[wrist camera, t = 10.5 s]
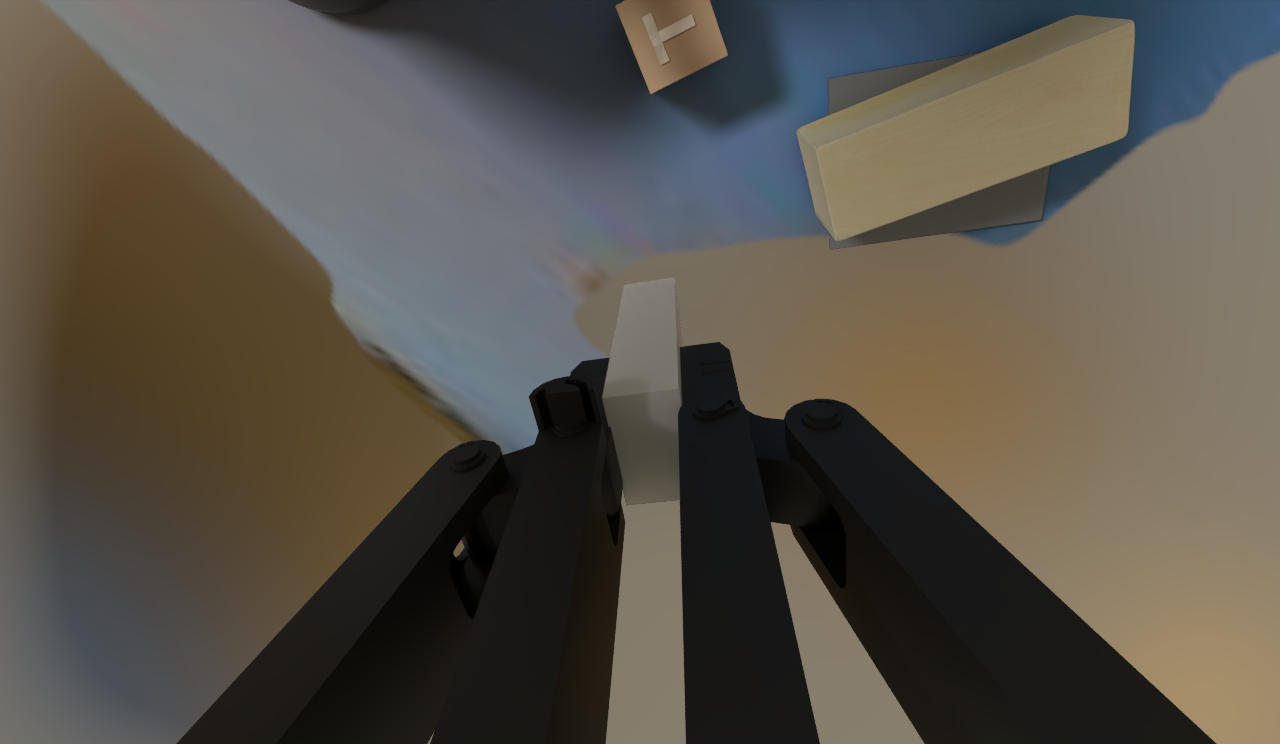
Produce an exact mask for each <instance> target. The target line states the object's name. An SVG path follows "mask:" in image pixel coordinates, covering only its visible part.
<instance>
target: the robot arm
mask: <svg viewBox="0 0 1280 744" xmlns="http://www.w3.org/2000/svg"><path fill="white" fill-rule="evenodd" d="M289 1H291V2H293V3H295V4H298V5H300V6H303V7H306V8H309V9H313V10H318V11H323V12H329V13H335V14H356V13H362V12H365V11H369V10H371V9H374V8H376V7H378V6H380V5H382V4H383V3H385V2H386V1H388V0H289ZM529 399H530V402H531V406H532V409H533V412H534V416H535V419H536V423H537V426H538V429H539V433H538V435H537V438H536V441H535V444H534V445H532V446H529V447H527V448H524V449H521V450H518V451H515V452H512V453H508V454H505V455H502V452H501V449H500V446H498V445H497V444H496V443H495V442H492V441H487V440H480V441H470V442H467V443H463V444H460V445H459V446H457V447H455V448H453V449H451V450H449V451H448V452H447V453H445V454H444V455H443V456H442V457H441V458H440V459H438V461H437V462H436V463H435V464H434V465H433V466H432V467H431V468H430V469H429V470H428V472H427V473H426V474H425V475H424V476H423V477H422V478H421V479H420V480H419V481H418V482H417V483H416V484H415V486H414V487H413V488H412V489H411V490H410V491H409V492H408V493H407V494H406V495H405V496H404V497H403V498H402V500H401V501H400V502H399V503H398V504H397V505H396V506H395V507H394V508H393V509H392V511H390V513H389V514H388V515H387V516H386V517H385V518H384V519H383V520H382V521H381V522H380V524H379V525H378V526H377V527H376V528H375V529H374V530H373V531H372V532H371V533H370V534H369V535H368V536H367V538H366V539H365V540H364V541H363V542H362V543H361V544H360V545H359V546H358V547H357V548H356V549H355V551H354V552H353V553H352V554H351V555H350V556H349V557H348V558H347V559H346V560H345V561H344V563H343V564H342V565H341V566H340V567H339V568H338V569H337V570H336V571H335V572H334V573H333V574H332V576H331V577H330V578H329V579H328V580H327V581H326V582H325V583H324V584H323V585H322V586H321V587H320V589H319V590H318V591H317V592H316V593H315V594H314V595H313V596H312V597H311V598H310V599H309V601H308V602H307V603H306V604H305V605H304V606H303V607H302V608H301V609H300V610H299V611H298V613H296V615H295V616H294V617H293V618H292V619H291V620H290V621H289V622H288V623H287V624H286V625H285V627H284V628H283V629H282V630H281V631H280V632H279V633H278V634H277V635H276V636H275V637H274V638H273V640H272V641H271V642H270V643H269V644H268V645H267V646H266V647H265V648H264V649H263V650H262V651H261V653H260V654H259V655H258V656H257V657H256V658H255V659H254V660H253V661H252V662H251V664H250V665H249V666H248V667H247V668H246V669H245V670H244V671H243V672H242V673H241V674H240V675H239V676H238V678H237V679H236V680H235V681H234V682H233V683H232V684H231V685H230V686H229V687H228V688H227V690H226V691H225V692H224V693H223V694H222V695H221V696H220V697H219V698H218V699H217V700H216V701H215V702H214V704H213V705H212V706H211V707H210V708H209V709H208V710H207V711H206V712H205V713H204V714H203V716H202V717H201V718H200V719H199V720H198V721H197V722H196V723H195V724H194V725H193V726H192V727H191V728H190V730H189V731H188V732H187V733H186V734H185V735H184V736H183V737H182V738H181V739H180V740H179V742H178V743H177V744H427V743H428V741H429V740H430V738H431V736H432V734H433V733H434V734H433V738H432V740H431V743H430V744H606V732H607V720H608V710H609V698H610V687H611V676H612V664H613V654H614V641H615V630H616V620H617V608H618V597H619V586H620V574H621V563H622V552H623V541H624V529H625V519H624V514H623V510H622V505H621V497H622V488H623V493H624V497H625V502H626V505H635V504H646V503H655V502H665V501H675V500H680V521H681V557H682V558H681V561H682V600H683V641H684V679H685V720H686V744H820V742H819V738H818V733H817V729H816V725H815V720H814V715H813V711H812V707H811V702H810V697H809V693H808V688H807V684H806V679H805V675H804V671H803V666H802V661H801V657H800V652H799V648H798V643H797V639H796V635H795V630H794V626H793V621H792V617H791V613H790V608H789V603H788V599H787V594H786V590H785V586H784V581H783V576H782V572H781V567H780V563H779V558H778V554H777V549H776V545H775V540H774V536H773V531H772V528H771V522H776V523H782V524H789V525H790V526H791V529H792V532H793V535H794V537H795V538H796V540H797V542H798V543H799V545H800V546H801V548H802V550H803V551H804V553H805V554H806V556H807V557H808V559H809V561H810V562H811V564H812V565H813V567H814V569H815V570H816V572H817V573H818V575H819V576H820V578H821V580H822V581H823V583H824V584H825V586H826V588H827V589H828V590H829V592H830V594H831V596H832V597H833V599H834V600H835V602H836V604H837V605H838V607H839V608H840V610H841V611H842V613H843V615H844V616H845V618H846V619H847V621H848V623H849V624H850V625H851V627H852V629H853V631H854V632H855V634H856V635H857V637H858V638H859V640H860V641H861V643H862V645H863V646H864V648H865V650H866V651H867V653H868V654H869V656H870V657H871V659H872V661H873V662H874V664H875V666H876V667H877V669H878V670H879V672H880V673H881V675H882V677H883V678H884V680H885V681H886V683H887V685H888V686H889V688H890V689H891V691H892V692H893V694H894V696H895V697H896V699H897V700H898V702H899V704H900V705H901V707H902V708H903V710H904V712H905V713H906V715H907V716H908V718H909V719H910V721H911V723H912V724H913V726H914V727H915V729H916V731H917V732H918V734H919V735H920V737H921V739H922V740H923V742H924V743H925V744H1216V743H1215V742H1214V741H1213V740H1212V739H1211V738H1209V737H1208V736H1207V735H1206V734H1205V733H1204V732H1203V731H1202V730H1201V729H1200V728H1199V727H1198V726H1197V725H1195V723H1193V722H1192V721H1191V720H1190V719H1189V718H1188V717H1187V716H1186V715H1185V714H1184V713H1182V711H1180V710H1179V709H1178V708H1177V707H1176V706H1175V705H1174V704H1173V703H1172V702H1171V701H1170V700H1169V699H1168V698H1166V697H1165V696H1164V695H1163V694H1162V693H1161V692H1160V691H1159V690H1158V689H1157V688H1156V687H1155V686H1154V685H1152V684H1151V683H1150V682H1149V681H1148V680H1147V679H1146V678H1145V677H1144V676H1143V675H1142V674H1141V673H1139V672H1138V671H1137V670H1136V669H1135V668H1134V667H1133V666H1132V665H1131V664H1130V663H1129V662H1127V660H1125V659H1124V658H1123V657H1122V656H1121V655H1120V654H1119V653H1118V652H1117V651H1115V649H1114V648H1112V647H1111V646H1110V645H1109V644H1108V643H1107V642H1106V641H1105V640H1104V639H1103V638H1102V637H1101V636H1099V635H1098V634H1097V633H1096V632H1095V631H1094V630H1093V629H1092V628H1091V627H1090V626H1089V625H1088V624H1087V623H1085V622H1084V621H1083V620H1082V619H1081V618H1080V617H1079V616H1078V615H1077V614H1076V613H1075V612H1074V611H1073V610H1071V609H1070V608H1069V607H1068V606H1067V605H1066V604H1065V603H1064V602H1063V601H1062V600H1061V599H1059V598H1058V597H1057V596H1056V595H1055V594H1054V593H1053V592H1052V591H1051V590H1050V589H1049V588H1048V587H1047V586H1045V584H1043V583H1042V582H1041V581H1040V580H1039V579H1038V578H1037V577H1036V576H1035V575H1034V574H1033V573H1031V572H1030V571H1029V570H1028V569H1027V568H1026V567H1025V566H1024V565H1023V564H1022V563H1021V562H1020V561H1019V560H1018V559H1016V558H1015V557H1014V556H1013V555H1012V554H1011V553H1010V552H1009V551H1008V550H1007V549H1006V548H1005V547H1003V546H1002V545H1001V544H1000V543H999V542H998V541H997V540H996V539H995V538H994V537H993V536H992V535H990V534H989V533H988V532H987V531H986V530H985V529H984V528H983V527H982V526H981V525H980V524H979V523H978V522H976V521H975V520H974V519H973V518H972V517H971V516H970V515H969V514H968V513H966V512H965V510H964V509H962V508H961V507H960V506H959V505H958V504H957V503H956V502H955V501H954V500H953V499H952V498H951V497H949V496H948V495H947V494H946V493H945V492H944V491H943V490H942V489H941V488H940V487H939V486H938V485H936V484H935V483H934V482H933V481H932V480H931V479H930V478H929V477H928V476H927V475H926V474H925V473H924V472H922V471H921V470H920V469H919V468H918V467H917V466H916V465H915V464H914V463H913V462H912V461H910V460H909V459H908V458H907V457H906V456H905V455H904V454H903V453H902V452H901V451H900V450H899V449H898V448H897V447H896V446H894V445H893V444H892V443H891V442H890V441H889V440H888V439H887V438H886V437H885V436H884V435H883V434H882V433H880V432H879V431H878V430H877V429H876V428H875V427H874V426H873V425H872V424H871V423H869V421H867V420H866V419H865V418H864V417H863V416H862V415H861V414H860V413H859V412H858V411H857V410H856V409H854V408H852V407H851V406H849V405H848V404H846V403H843V402H839V401H836V400H830V399H815V400H807V401H804V402H801V403H798V404H796V405H794V406H793V407H791V408H790V409H789V410H788V411H787V413H786V415H785V418H784V420H782V419H781V420H780V419H771V418H764V417H761V416H758V415H755V414H752V413H751V412H749V411H747V410H746V409H745V406H744V405H743V403H742V402H741V400H740V396H739V391H738V387H737V382H736V378H735V374H734V369H733V364H732V360H731V355H730V350H729V349H727V348H726V347H725V346H724V345H722V344H721V343H720V342H716V343H708V344H700V345H692V346H685V347H684V340H683V334H682V326H681V320H680V312H679V305H678V299H677V291H676V284H675V278H668V279H661V280H654V281H647V282H640V283H633V284H627V285H624V289H623V294H622V299H621V304H620V310H619V314H618V320H617V325H616V330H615V335H614V340H613V345H612V350H611V355H610V358H604V359H596V360H588V361H582V362H581V363H580V364H579V365H578V366H577V367H576V368H575V369H574V370H573V371H572V372H571V375H570V376H566V377H562V378H557V379H553V380H551V381H548V382H546V383H544V384H542V385H540V386H539V387H537V388H536V389H534V390H533V392H532V393H531V394H530V396H529ZM461 540H462V542H463V545H464V547H465V548H464V549H463V551H462V552H461V554H460V555H459V556H457V557H455V556H454V554H453V551H454V550H455V548H456V546H457V545H458V543H459V542H460V541H461ZM434 731H435V732H434Z"/></svg>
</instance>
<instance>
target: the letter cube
mask: <svg viewBox="0 0 1280 744" xmlns="http://www.w3.org/2000/svg"><path fill="white" fill-rule="evenodd" d="M615 7H616V9H617V12H618V14H619V17H620V19H621V22H622V24H623V27H624V29H625V32H626V34H627V37H628V39H629V42H630V44H631V47H632V49H633V52H634V54H635V57H636V59H637V62H638V64H639V67H640V69H641V72H642V74H643V77H644V79H645V82H646V84H647V87H648V89H649V92H650V94H652V93H654V92H656V91H658V90H660V89H662V88H664V87H666V86H668V85H670V84H672V83H674V82H676V81H678V80H680V79H682V78H684V77H686V76H688V75H690V74H692V73H694V72H696V71H698V70H700V69H702V68H704V67H706V66H708V65H710V64H712V63H714V62H716V61H718V60H720V59H722V58H724V57H725V56H727V55H728V53H727V50H726V47H725V44H724V41H723V38H722V35H721V33H720V30H719V27H718V24H717V21H716V18H715V15H714V12H713V9H712V6H711V3H710V0H625V1H623V2H621V3H619V4H617V5H616V6H615Z"/></svg>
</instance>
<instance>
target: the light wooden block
mask: <svg viewBox="0 0 1280 744" xmlns="http://www.w3.org/2000/svg"><path fill="white" fill-rule="evenodd" d="M1134 44H1135V25H1134V21H1132V20H1128V19H1118V18H1106V17H1094V16H1083V15H1073V16H1069V17H1067V18H1064V19H1062V20H1059V21H1057V22H1054V23H1052V24H1050V25H1047V26H1045V27H1042V28H1040V29H1038V30H1035V31H1033V32H1030V33H1028V34H1025V35H1023V36H1021V37H1018V38H1016V39H1013V40H1011V41H1008V42H1006V43H1003V44H1001V45H999V46H996V47H994V48H991V49H989V50H987V51H984V52H982V53H979V54H977V55H974V56H972V57H970V58H967V59H965V60H963V61H960V62H958V63H956V64H953V65H951V66H948V67H946V68H943V69H941V70H938V71H936V72H934V73H931V74H929V75H926V76H924V77H922V78H919V79H917V80H914V81H912V82H909V83H907V84H904V85H902V86H899V87H897V88H895V89H892V90H890V91H887V92H885V93H883V94H880V95H878V96H875V97H873V98H870V99H868V100H866V101H863V102H861V103H858V104H856V105H854V106H851V107H849V108H846V109H844V110H841V111H839V112H836V113H834V114H831V115H829V116H826V117H824V118H821V119H819V120H816V121H814V122H812V123H809V124H807V125H804V126H802V127H800V128H799V129H798V130H797V137H798V141H799V145H800V149H801V153H802V157H803V162H804V166H805V170H806V174H807V178H808V183H809V187H810V191H811V195H812V200H813V204H814V208H815V213H816V215H817V217H818V218H819V219H820V221H821V222H822V223H823V225H824V226H825V227H826V229H827V230H828V231H829V233H830V234H831V236H832V237H833V238H834V240H835V241H841V240H844V239H847V238H850V237H853V236H855V235H858V234H861V233H864V232H866V231H869V230H872V229H875V228H877V227H880V226H883V225H886V224H888V223H891V222H894V221H897V220H900V219H902V218H905V217H908V216H911V215H914V214H916V213H919V212H922V211H924V210H927V209H930V208H933V207H935V206H938V205H941V204H944V203H946V202H949V201H952V200H955V199H958V198H960V197H963V196H966V195H968V194H971V193H974V192H976V191H979V190H982V189H985V188H987V187H990V186H993V185H996V184H998V183H1001V182H1004V181H1007V180H1010V179H1012V178H1015V177H1018V176H1021V175H1023V174H1026V173H1029V172H1032V171H1035V170H1037V169H1040V168H1043V167H1046V166H1049V165H1051V164H1054V163H1057V162H1060V161H1062V160H1065V159H1068V158H1071V157H1074V156H1076V155H1079V154H1082V153H1085V152H1087V151H1090V150H1093V149H1095V148H1098V147H1101V146H1104V145H1107V144H1109V143H1112V142H1115V141H1117V140H1120V139H1122V138H1124V137H1125V136H1126V135H1127V132H1128V125H1129V110H1130V97H1131V81H1132V70H1133V57H1134Z"/></svg>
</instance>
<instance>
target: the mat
mask: <svg viewBox="0 0 1280 744" xmlns="http://www.w3.org/2000/svg"><path fill="white" fill-rule="evenodd" d="M979 53H982V52H979ZM979 53H973V54H967V55H961V56H956V57H950V58H944V59H938V60H933V61H927V62H921V63H915V64H910V65H904V66H898V67H892V68H887V69H881V70H875V71H869V72H864V73H858V74H852V75H846V76H841V77H835V78H829V79H828V113H829V115H831V114H834V113H836V112H839V111H841V110H844V109H846V108H849V107H851V106H854V105H856V104H858V103H861V102H863V101H866V100H868V99H870V98H873V97H875V96H878V95H880V94H883V93H885V92H887V91H890V90H892V89H895V88H897V87H899V86H902V85H904V84H907V83H909V82H912V81H914V80H917V79H919V78H922V77H924V76H926V75H929V74H931V73H934V72H936V71H938V70H941V69H943V68H946V67H948V66H951V65H953V64H956V63H958V62H960V61H963V60H965V59H967V58H970V57H972V56H974V55H977V54H979ZM1049 171H1050V165H1049V166H1046V167H1043V168H1040V169H1037V170H1035V171H1032V172H1029V173H1026V174H1023V175H1021V176H1018V177H1015V178H1012V179H1010V180H1007V181H1004V182H1001V183H998V184H996V185H993V186H990V187H987V188H985V189H982V190H979V191H976V192H974V193H971V194H968V195H966V196H963V197H960V198H958V199H955V200H952V201H949V202H946V203H944V204H941V205H938V206H935V207H933V208H930V209H927V210H924V211H922V212H919V213H916V214H914V215H911V216H908V217H905V218H902V219H900V220H897V221H894V222H891V223H888V224H886V225H883V226H880V227H877V228H875V229H872V230H869V231H866V232H864V233H861V234H858V235H855V236H853V237H850V238H847V239H844V240H841V241H835V240H834V238H833V237H832V236H831V234H830V233H829V242H830V243H829V245H830V249H838V248H845V247H852V246H859V245H867V244H874V243H880V242H887V241H895V240H902V239H909V238H916V237H923V236H931V235H938V234H945V233H952V232H959V231H966V230H973V229H980V228H987V227H994V226H1002V225H1009V224H1016V223H1023V222H1030V221H1037V220H1042V214H1043V208H1044V201H1045V195H1046V189H1047V183H1048V177H1049Z"/></svg>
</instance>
